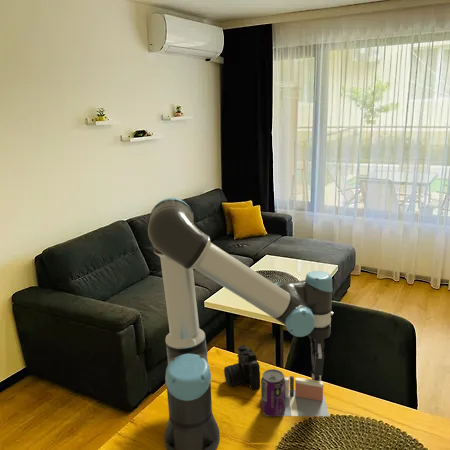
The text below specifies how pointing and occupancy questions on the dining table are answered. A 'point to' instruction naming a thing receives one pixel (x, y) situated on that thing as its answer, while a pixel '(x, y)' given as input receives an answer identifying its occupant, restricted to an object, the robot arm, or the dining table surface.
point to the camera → (244, 369)
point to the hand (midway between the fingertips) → (316, 389)
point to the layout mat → (304, 407)
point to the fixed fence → (290, 386)
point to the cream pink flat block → (309, 389)
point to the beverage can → (273, 392)
